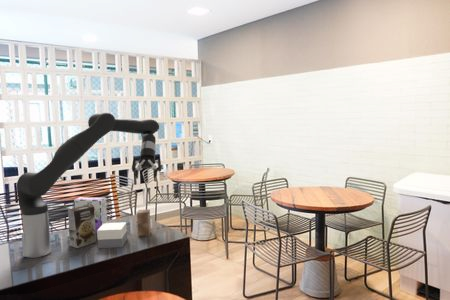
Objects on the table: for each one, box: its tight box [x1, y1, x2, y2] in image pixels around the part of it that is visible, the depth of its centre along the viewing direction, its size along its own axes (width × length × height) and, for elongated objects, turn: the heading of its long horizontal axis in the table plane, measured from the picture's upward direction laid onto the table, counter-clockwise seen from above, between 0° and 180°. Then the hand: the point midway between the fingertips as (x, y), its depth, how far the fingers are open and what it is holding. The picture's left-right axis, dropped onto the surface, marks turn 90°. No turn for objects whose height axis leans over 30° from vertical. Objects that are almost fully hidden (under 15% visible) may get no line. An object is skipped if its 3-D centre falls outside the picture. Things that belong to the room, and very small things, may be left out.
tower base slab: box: [97, 231, 128, 249], centre depth 154 cm, size 10×10×4 cm
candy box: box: [73, 196, 108, 235], centre depth 169 cm, size 14×6×16 cm, turn 81°
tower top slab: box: [96, 221, 128, 241], centre depth 153 cm, size 10×10×4 cm
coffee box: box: [67, 205, 97, 249], centre depth 153 cm, size 9×6×16 cm
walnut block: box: [136, 208, 152, 237], centre depth 164 cm, size 5×5×11 cm
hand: (145, 177), depth 174 cm, fingers open, 8 cm apart
